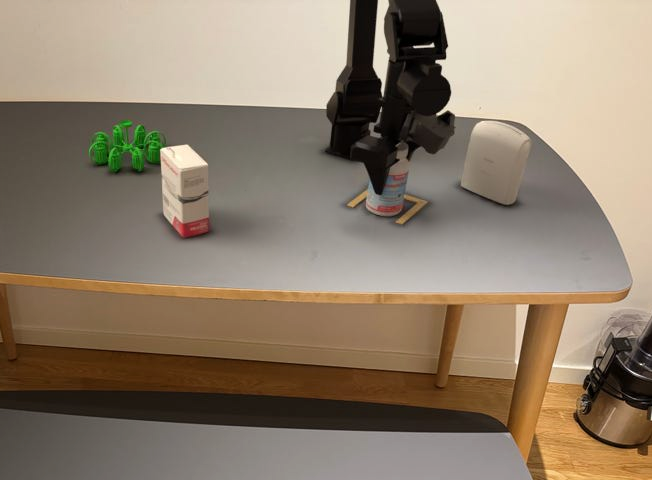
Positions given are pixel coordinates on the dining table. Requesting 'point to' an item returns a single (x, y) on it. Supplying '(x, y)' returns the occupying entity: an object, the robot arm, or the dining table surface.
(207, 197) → the ink box
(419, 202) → the tape outline
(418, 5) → the robot arm
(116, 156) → the chandelier
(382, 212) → the pill bottle
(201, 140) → the dining table surface
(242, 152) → the dining table surface
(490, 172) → the photo printer
